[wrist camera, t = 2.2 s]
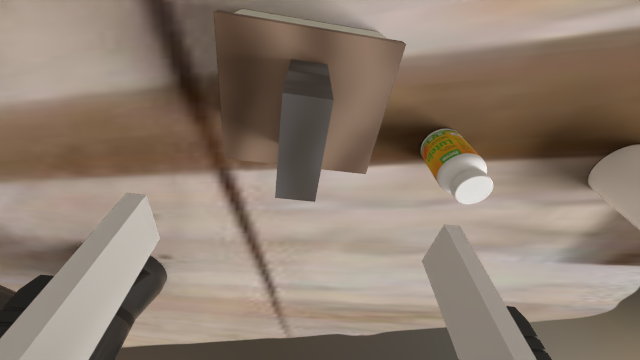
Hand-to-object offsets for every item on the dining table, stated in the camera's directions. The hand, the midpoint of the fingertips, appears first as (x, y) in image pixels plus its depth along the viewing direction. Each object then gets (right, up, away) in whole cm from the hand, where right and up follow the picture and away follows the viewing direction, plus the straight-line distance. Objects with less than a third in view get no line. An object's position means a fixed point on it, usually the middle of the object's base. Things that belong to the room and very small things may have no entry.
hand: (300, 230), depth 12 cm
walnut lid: (-1, +10, +13) cm, 16 cm away
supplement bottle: (+17, +7, +24) cm, 31 cm away
